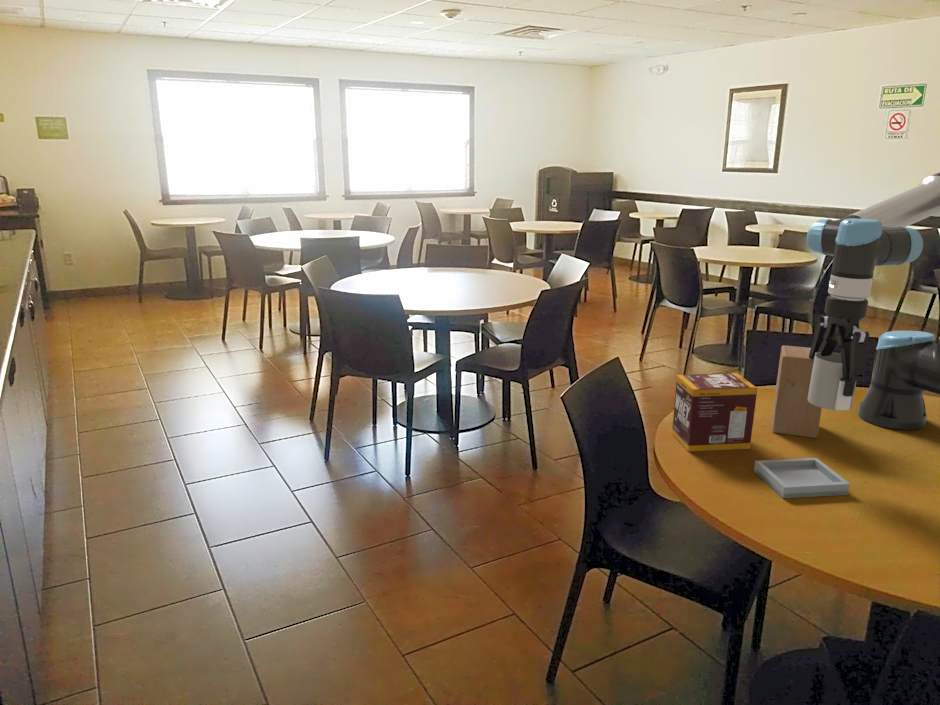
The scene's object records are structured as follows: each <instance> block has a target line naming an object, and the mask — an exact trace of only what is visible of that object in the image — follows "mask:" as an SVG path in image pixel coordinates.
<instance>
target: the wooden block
mask: <svg viewBox="0 0 940 705" xmlns="http://www.w3.org/2000/svg"><path fill="white" fill-rule="evenodd" d="M810 350H811V347H808V346H807V347H806V346H804V347H803V346H796V345H795V346H793V345H781V347H780V355H779V363H778V370H777V371H778V372H777V377H776V385H775V392H774V399H773V400H774V401H773V407H772V408H773V409H772V413H771V414H772V415H771V422H772V423H771V424H772V425H771V427H772V433H776V434H781V435H790V436H797V437H805V438H812V439H817V437H818V433H819V427H820V421H821V417H822V416H821V414H822V409H823V408H821V407H818V406H815V405H813V404H811V403H809V401H808V400H807V399H808V393H809V387H810V381H811V375H812V369H813V360H812V359H810V358H809V353H810ZM816 353H817V352H815V354H816Z"/></svg>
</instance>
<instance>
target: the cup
mask: <svg viewBox="0 0 940 705" xmlns="http://www.w3.org/2000/svg"><path fill="white" fill-rule="evenodd" d="M842 365H843V364H842V360H841V352H840V353H839V352H834V351H833V352H832V354H831V355H830V356H822V355H821V353H817V354H816V355H815V357H814V363H813V369H812V375H811V381H810V387H809V393H808V399H807V400H808V401H809V403H811V404H813V405H815V406H818V407H821V408H822V409H826V410H831V411H832V410H833V411H836V410H835V403H836V398H837V392H838V387H839V381H840V378H843V371H842ZM857 382H858V381H856V382H855V387H854V391H853V395H852V398H851V403H850V408H849V410H850V409H852V406H853V402H854V397H855V391H856V386H857Z"/></svg>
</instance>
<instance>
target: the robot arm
mask: <svg viewBox="0 0 940 705" xmlns="http://www.w3.org/2000/svg"><path fill="white" fill-rule="evenodd" d="M930 217H940V172H938V173H934V174H931V175H930V176H928V177H925V178H924V179H922V180H921V181H920V183H918V184H917V186H915V187H913V188H910V189H907V190H906V191H903V192H900V193H899V194H896V195H893V196H891V197H889V198H887V199H884V200H882V201H880V202H877V203H875V204H871V205H870V206H868V207H865V208H863V209H861V210H859V211H856V212H854V213H851V214H848V215H846V216H844V217H840V218H839V219H836V220H833V219H829V218H827V219H817V220H815V221H813V223H812V224H811V225H810V227H809V228H808V231H807V233H806V234H807V235H806V245H807V247H808V248H809V249H810V251H812V252H814V253H818V254H821V255H824V256H832V257H833V260H832V268H831V270H830V278H829V282H828V289H827V293H828V294H829V295H828V296H826V299H825V306H824V313H825V314H826V316H823V315H821V316H818V317H817V323H816V325H817V327H816V331H815V333H814V338H813V340H812V343H811V347H810V348H811V350H810V353H809V358H810V359H812V360H813V363H814V357H815V355H816V354H817V353H821V355H822V356H830V355H831V354H832V352H834V350H835V348H836V346H837V347H838V348H839V349H840V353H841V360H842V364H843V365H842V371H843V378H840V381H839V387H838V392H837V398H836V403H835V410H834V411H850V409H851V408H850V403H851V398H852V395H853V391H854V387H855V382H856V381H857V382H862V381H865V378H866V361H867V345H868V341H869V336H870V332H869V331H862V329H860V321H861V320H862V319H864V318H865V317H866V316H867V310H868V305H869V301H868V298H869V297H870V295H871V291H872V285H873V280H874V273H875V268H876V267H880V266H882V267H883V266H900V265H905V264H909V263H911V262H912V263H913V262H914V261H915V260H917V259H918V258H919V257H920V255H921V253H922V251H923V248H924V240H923V239H924V238H923V237H922V235H921V234H920V232H919V231H918V230H916V229H914V228H911V227H909V226H912V225H913V224H916V223H918V222H920V221H922V220H925V219H927V218H930ZM935 341H936V337H935V335H934V334H933V333H932V332H927V331H921V330H892V331H887V332H884V333H882V334H881V335H880V336H879V339H878V342H877V345H876V348H875V350H876V351H875V356H874V362H873V369H872V374H871V381H870V384H869V388H868V389H867V391H866V393H865V395H864V397H863V399H862V401H861V402H860V403H859V405H858V408H857V415H858V416H859V418H861V419H862V420H863V421H865V422H867V423H870V424H873V425H875V426H879V427H882V428H888V429H894V430H901V431H902V430H903V431H913V430H920V429H924V427H925V426H926V424H927V419H928V418H927V417H928V414H927V410H926V403H925V398H924V392H925V391H926V392H929V393H931V394H935V395H939V396H940V336H938V340H937V342H935ZM815 352H817V353H816V354H815ZM857 382H856V383H857ZM855 388H856V387H855ZM849 408H850V409H849Z"/></svg>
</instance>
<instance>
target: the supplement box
mask: <svg viewBox="0 0 940 705" xmlns="http://www.w3.org/2000/svg"><path fill="white" fill-rule="evenodd" d="M675 382H676V383H675V394H674V395H675V396H674V409H673V418H672V419H673V420H672V431H671V433H672V435H673V436H674V437H675V439H676V440H677V441H678V442H679V443H680V444H681V446H683V448H684V449H685V450H686V451H687V452H706V451H711V452H712V451H729V450H747V449H748V450H749V449H751V443H752V442H751V441H752V434H753V428H754V427H753V426H754V419H755V410H756V405H757V404H756V401H757V394H758V387H757V386H755V385H754V384H752V383H751V382H750V381H749V380H747V379H746V378H745V377H743V376H742V375H740V374H739V373H737V372H724V373H701V374H700V373H696V374H677V375H676V381H675Z"/></svg>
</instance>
